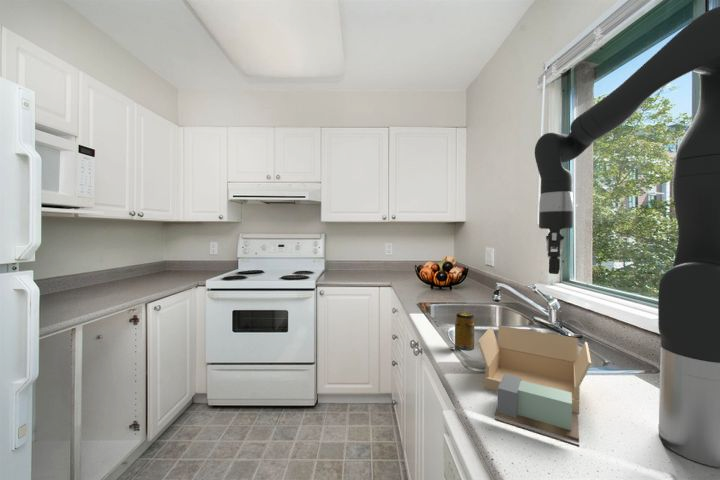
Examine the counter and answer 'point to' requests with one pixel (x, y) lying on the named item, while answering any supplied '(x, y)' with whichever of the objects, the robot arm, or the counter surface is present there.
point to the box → (534, 402)
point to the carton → (535, 359)
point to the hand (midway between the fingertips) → (554, 272)
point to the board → (545, 427)
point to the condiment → (464, 332)
